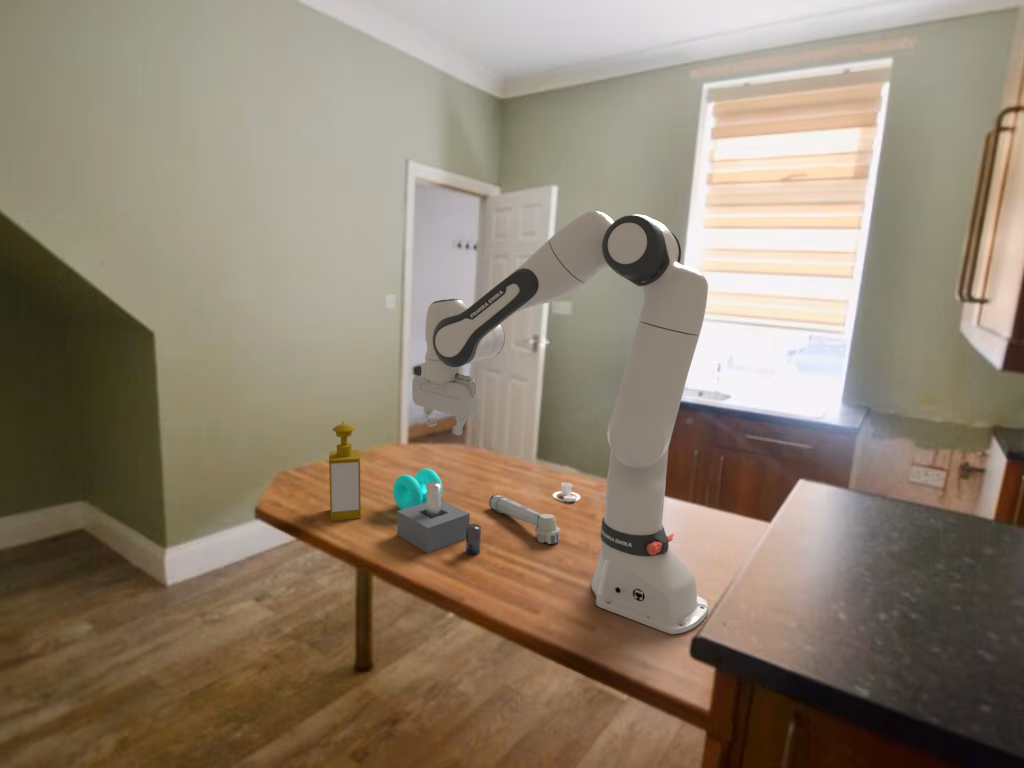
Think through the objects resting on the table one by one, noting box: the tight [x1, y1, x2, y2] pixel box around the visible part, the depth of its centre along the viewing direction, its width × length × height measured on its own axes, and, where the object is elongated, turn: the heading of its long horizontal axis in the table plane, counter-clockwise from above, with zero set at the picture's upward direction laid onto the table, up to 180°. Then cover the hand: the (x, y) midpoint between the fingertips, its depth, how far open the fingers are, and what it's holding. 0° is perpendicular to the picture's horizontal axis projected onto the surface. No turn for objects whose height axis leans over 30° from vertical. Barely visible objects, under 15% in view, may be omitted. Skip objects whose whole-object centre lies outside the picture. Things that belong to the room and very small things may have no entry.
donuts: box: [392, 467, 444, 510], centre depth 146 cm, size 10×10×10 cm
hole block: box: [396, 499, 471, 554], centre depth 130 cm, size 12×12×6 cm
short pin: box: [465, 523, 482, 557], centre depth 124 cm, size 3×3×6 cm
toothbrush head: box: [488, 494, 561, 545], centre depth 139 cm, size 5×7×25 cm
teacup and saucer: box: [552, 482, 581, 503], centre depth 158 cm, size 9×8×4 cm
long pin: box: [426, 482, 442, 519], centre depth 130 cm, size 3×3×13 cm
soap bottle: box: [328, 420, 362, 522], centre depth 142 cm, size 7×13×24 cm, turn 18°
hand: (444, 430), depth 128 cm, fingers open, 8 cm apart
